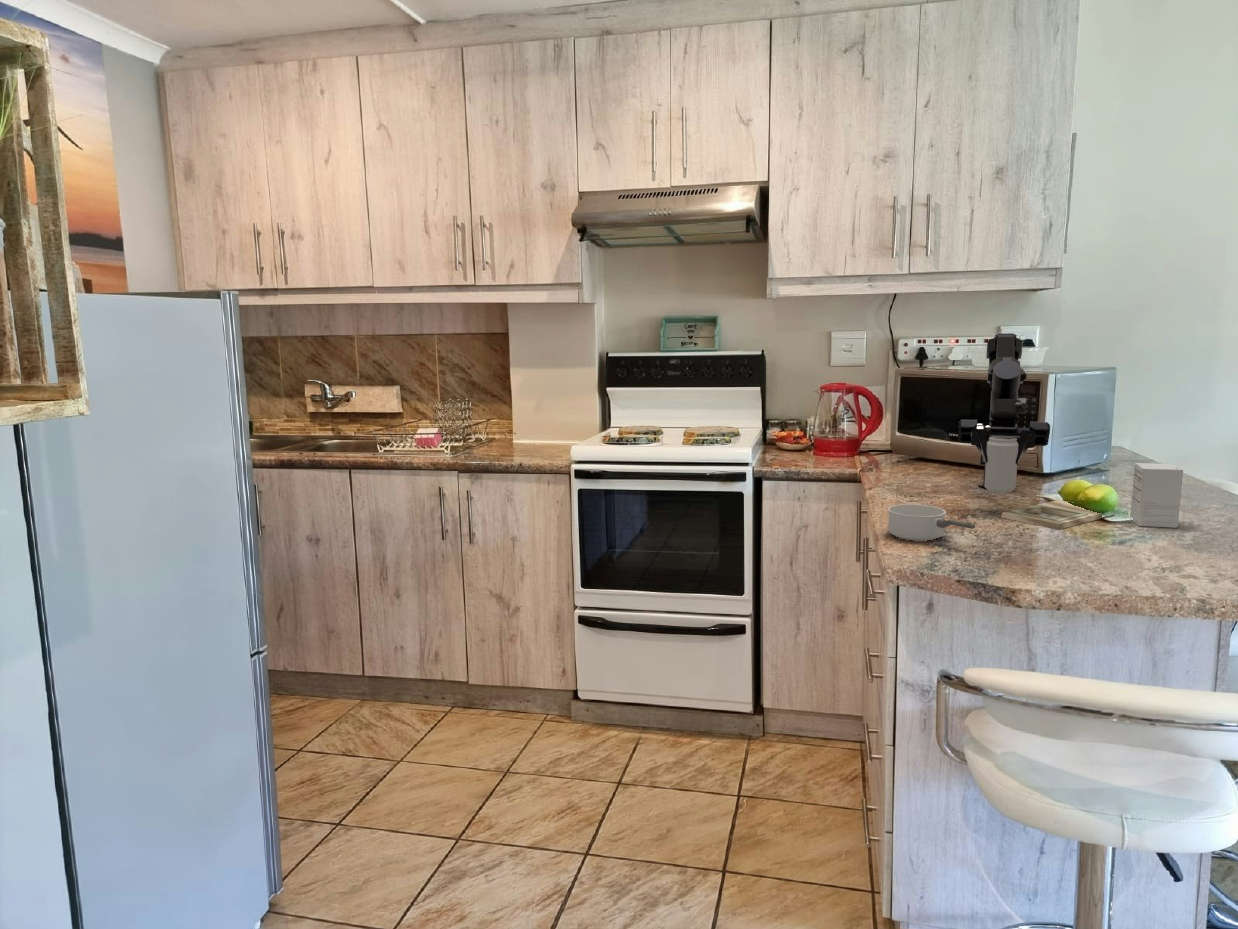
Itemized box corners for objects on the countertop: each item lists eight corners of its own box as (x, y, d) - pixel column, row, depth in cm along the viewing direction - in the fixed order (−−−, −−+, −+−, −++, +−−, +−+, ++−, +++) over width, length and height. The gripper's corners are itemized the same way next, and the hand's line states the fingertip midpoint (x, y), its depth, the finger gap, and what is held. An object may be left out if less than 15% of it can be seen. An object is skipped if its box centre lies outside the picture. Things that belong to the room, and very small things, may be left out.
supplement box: (1167, 520, 178) (1173, 463, 176) (1178, 528, 171) (1184, 469, 169) (1128, 518, 181) (1134, 462, 178) (1137, 526, 174) (1143, 467, 171)
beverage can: (1019, 493, 181) (1023, 439, 179) (989, 493, 181) (993, 439, 179) (1009, 487, 187) (1012, 435, 185) (980, 487, 188) (983, 435, 186)
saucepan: (949, 557, 154) (950, 528, 153) (874, 533, 172) (875, 507, 171) (992, 549, 159) (994, 521, 158) (915, 527, 176) (916, 501, 175)
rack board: (1057, 505, 194) (1057, 499, 194) (1114, 515, 183) (1114, 509, 183) (1001, 517, 183) (1002, 511, 183) (1058, 529, 172) (1059, 523, 172)
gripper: (960, 384, 187) (956, 439, 179) (1052, 385, 180) (1052, 443, 172) (960, 414, 196) (955, 468, 188) (1047, 417, 188) (1047, 473, 180)
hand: (1001, 462), depth 182 cm, fingers closed on beverage can, 6 cm apart
